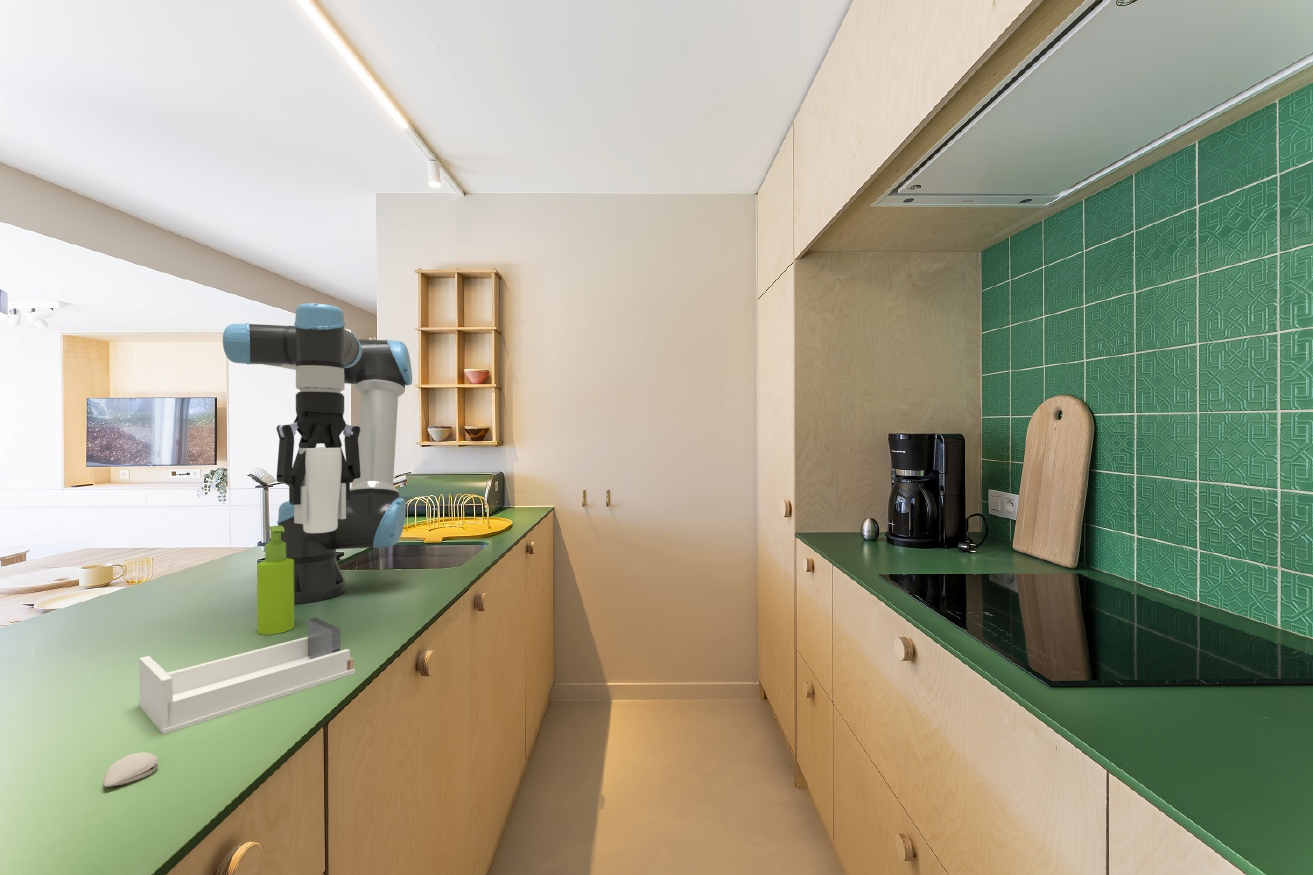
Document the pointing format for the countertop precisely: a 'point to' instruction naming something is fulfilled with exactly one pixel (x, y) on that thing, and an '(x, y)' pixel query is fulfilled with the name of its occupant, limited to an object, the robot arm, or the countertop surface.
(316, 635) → the pusher plate
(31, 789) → the countertop surface
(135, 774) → the clam shell
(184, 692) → the pusher lane
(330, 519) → the white tumbler cup
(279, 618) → the soap dispenser
